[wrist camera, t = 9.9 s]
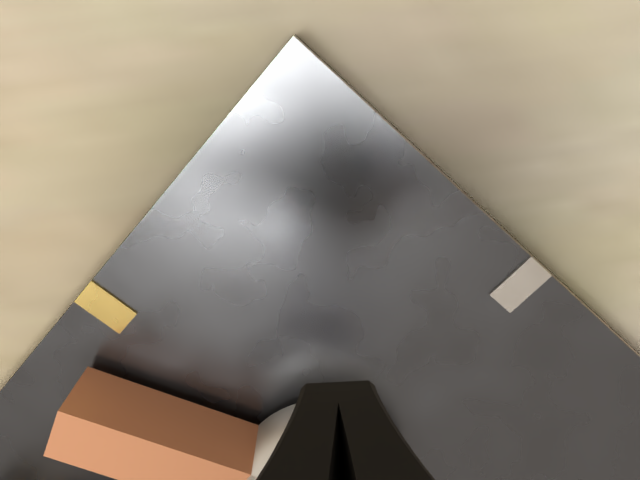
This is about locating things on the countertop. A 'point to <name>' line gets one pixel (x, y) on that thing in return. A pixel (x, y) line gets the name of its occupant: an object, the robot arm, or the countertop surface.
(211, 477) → the collar
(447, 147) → the countertop surface
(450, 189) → the base
